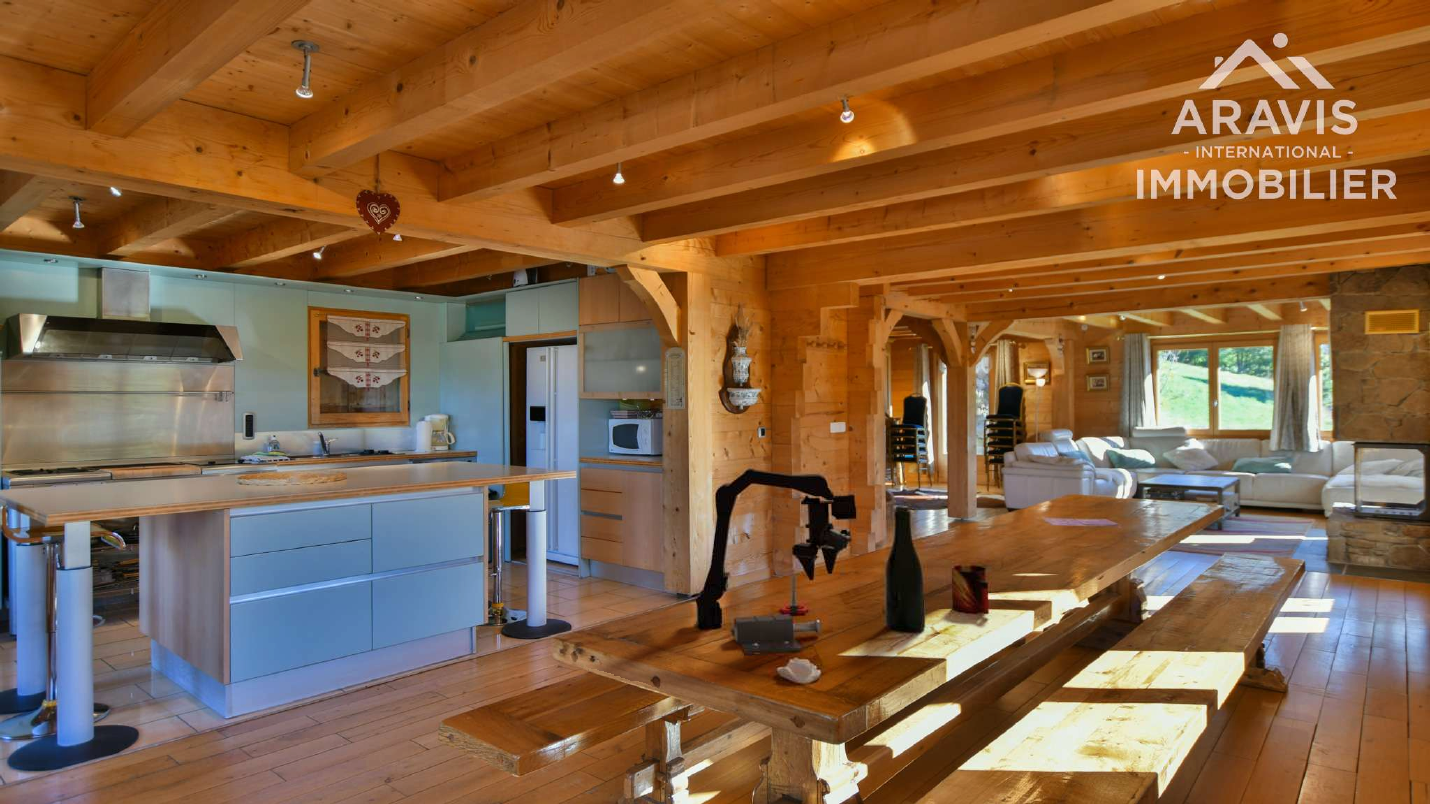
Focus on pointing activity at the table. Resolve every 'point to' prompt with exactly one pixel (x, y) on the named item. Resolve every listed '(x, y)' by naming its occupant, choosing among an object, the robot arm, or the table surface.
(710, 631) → the table surface
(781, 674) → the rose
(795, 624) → the pin
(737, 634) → the hinge
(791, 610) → the tow hook
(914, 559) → the beer bottle
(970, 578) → the mug
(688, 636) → the table surface
